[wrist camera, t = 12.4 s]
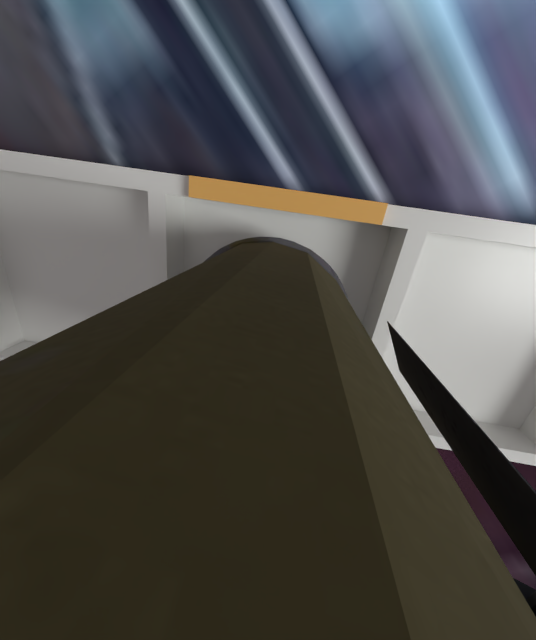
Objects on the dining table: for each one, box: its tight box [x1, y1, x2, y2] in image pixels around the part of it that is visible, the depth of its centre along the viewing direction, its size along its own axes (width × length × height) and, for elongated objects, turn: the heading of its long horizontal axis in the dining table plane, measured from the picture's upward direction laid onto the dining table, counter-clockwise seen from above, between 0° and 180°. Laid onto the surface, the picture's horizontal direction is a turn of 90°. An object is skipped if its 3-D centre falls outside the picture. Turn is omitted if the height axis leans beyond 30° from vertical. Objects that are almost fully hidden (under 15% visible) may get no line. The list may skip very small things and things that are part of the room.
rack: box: [0, 149, 536, 466], centre depth 17 cm, size 43×15×4 cm, turn 83°
